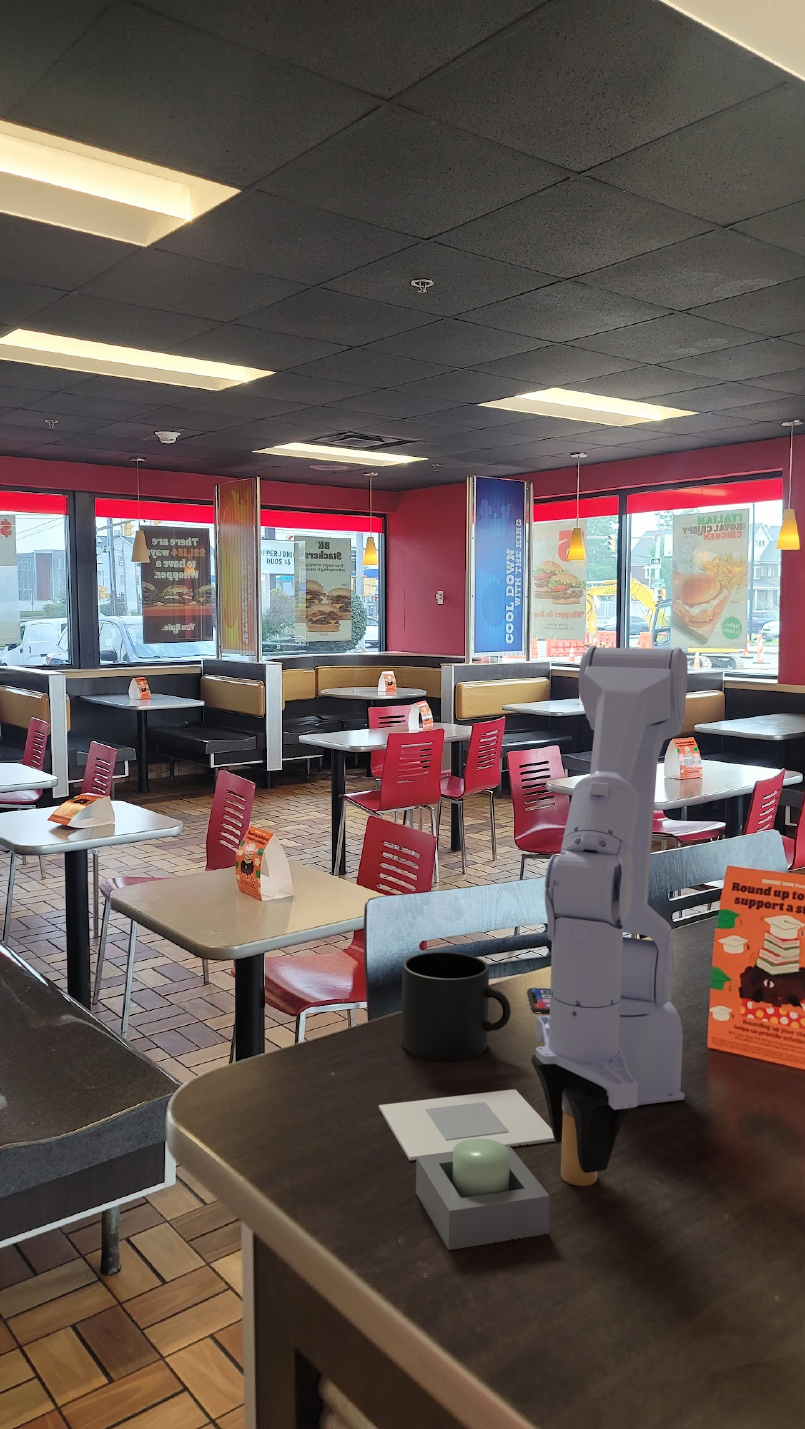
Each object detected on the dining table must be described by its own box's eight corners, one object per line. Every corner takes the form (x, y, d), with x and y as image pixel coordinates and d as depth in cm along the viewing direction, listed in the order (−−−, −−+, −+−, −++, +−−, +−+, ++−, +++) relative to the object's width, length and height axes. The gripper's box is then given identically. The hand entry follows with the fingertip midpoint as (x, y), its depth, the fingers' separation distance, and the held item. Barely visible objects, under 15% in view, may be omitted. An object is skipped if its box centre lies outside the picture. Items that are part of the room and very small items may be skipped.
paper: (515, 1092, 102) (515, 1088, 102) (558, 1140, 92) (558, 1136, 92) (378, 1108, 98) (378, 1104, 98) (409, 1160, 88) (409, 1156, 88)
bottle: (587, 1164, 88) (590, 1085, 88) (605, 1183, 85) (608, 1101, 84) (553, 1169, 87) (555, 1089, 87) (569, 1188, 84) (572, 1106, 84)
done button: (496, 1171, 83) (497, 1135, 83) (517, 1200, 79) (518, 1162, 78) (444, 1178, 82) (445, 1142, 81) (463, 1208, 77) (464, 1170, 77)
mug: (499, 1072, 106) (501, 987, 106) (389, 1055, 110) (391, 972, 109) (518, 1038, 115) (520, 959, 114) (415, 1024, 119) (417, 947, 118)
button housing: (507, 1179, 85) (508, 1144, 85) (548, 1233, 78) (549, 1195, 77) (415, 1192, 83) (416, 1156, 83) (448, 1249, 75) (449, 1210, 75)
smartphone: (658, 1013, 123) (532, 1009, 123) (658, 1021, 123) (531, 1016, 123) (645, 990, 130) (526, 986, 130) (645, 998, 130) (526, 994, 131)
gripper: (506, 970, 91) (502, 1119, 92) (580, 1033, 77) (574, 1207, 78) (579, 965, 93) (574, 1110, 94) (664, 1024, 79) (657, 1194, 80)
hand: (579, 1154), depth 86 cm, fingers open, 4 cm apart
